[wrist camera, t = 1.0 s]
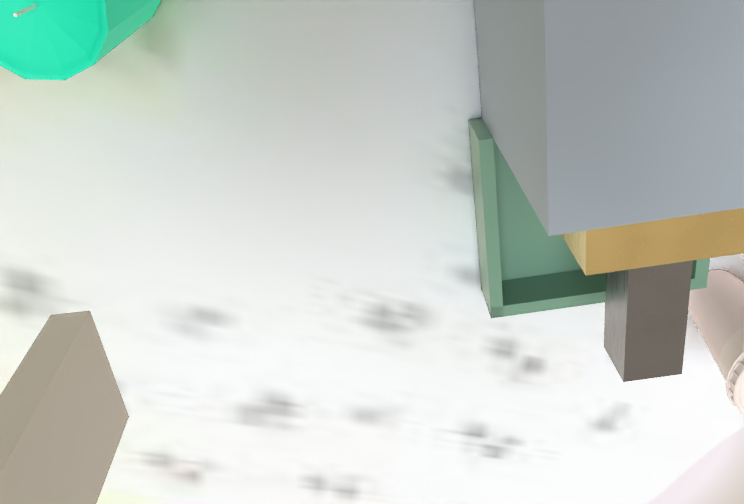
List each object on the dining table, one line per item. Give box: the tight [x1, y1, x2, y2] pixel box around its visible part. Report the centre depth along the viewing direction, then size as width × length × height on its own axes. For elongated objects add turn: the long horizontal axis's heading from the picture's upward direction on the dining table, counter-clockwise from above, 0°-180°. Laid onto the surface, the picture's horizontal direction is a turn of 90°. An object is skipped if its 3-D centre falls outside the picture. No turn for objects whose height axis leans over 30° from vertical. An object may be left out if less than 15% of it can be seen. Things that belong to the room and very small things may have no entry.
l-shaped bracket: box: [604, 260, 693, 382], centre depth 24 cm, size 30×4×15 cm, turn 8°
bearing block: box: [474, 0, 744, 236], centre depth 32 cm, size 10×12×15 cm
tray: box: [468, 118, 710, 318], centre depth 42 cm, size 12×14×4 cm
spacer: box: [561, 208, 744, 275], centre depth 33 cm, size 2×8×8 cm, turn 98°
